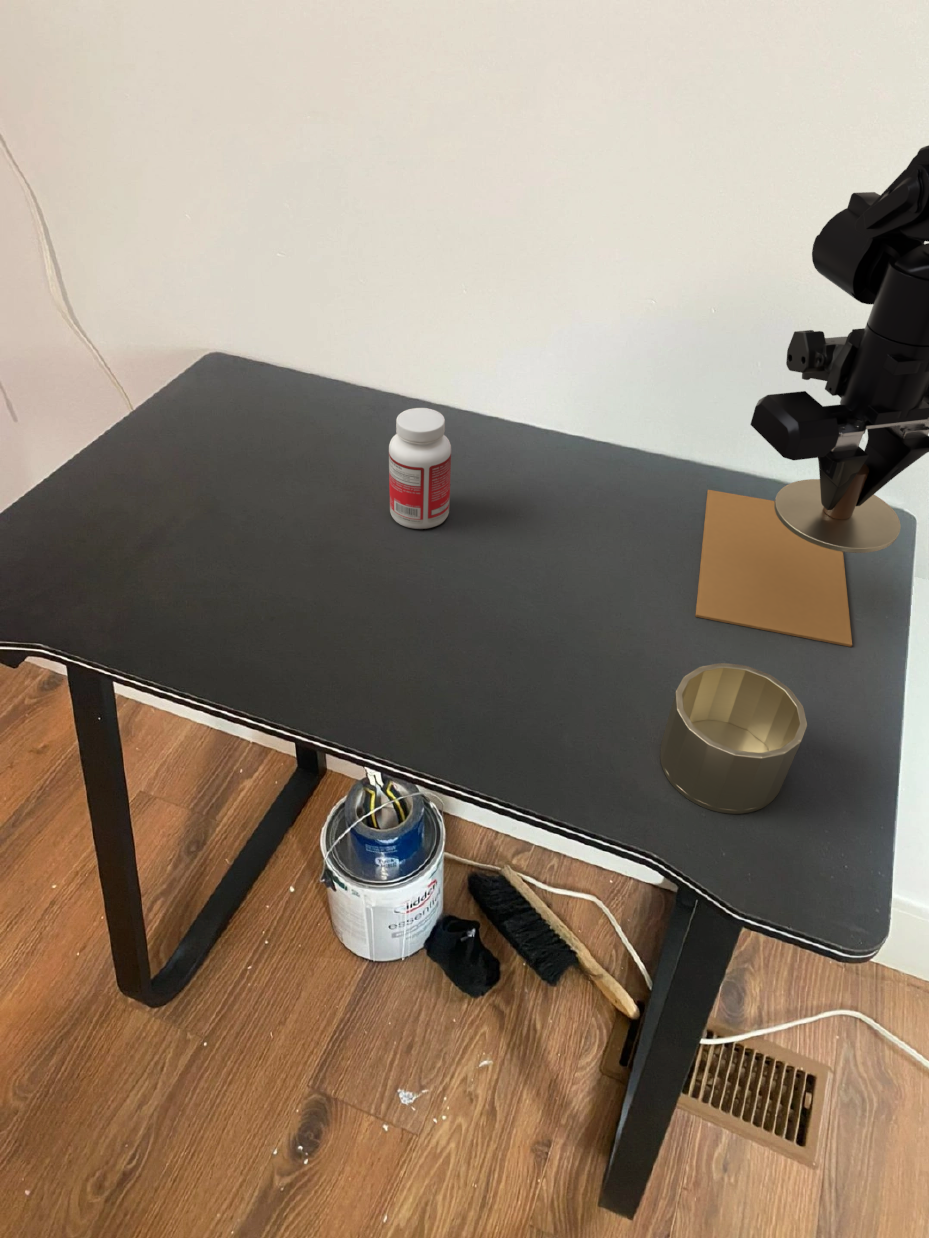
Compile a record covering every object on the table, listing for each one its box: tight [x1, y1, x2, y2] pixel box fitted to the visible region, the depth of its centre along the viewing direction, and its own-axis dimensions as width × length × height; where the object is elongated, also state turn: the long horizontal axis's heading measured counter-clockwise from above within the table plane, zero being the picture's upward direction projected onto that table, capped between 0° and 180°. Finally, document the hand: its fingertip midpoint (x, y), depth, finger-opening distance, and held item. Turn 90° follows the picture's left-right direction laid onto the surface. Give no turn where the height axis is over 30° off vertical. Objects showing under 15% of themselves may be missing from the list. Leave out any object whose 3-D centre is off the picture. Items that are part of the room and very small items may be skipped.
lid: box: [774, 464, 902, 554], centre depth 78 cm, size 10×10×6 cm
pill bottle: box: [388, 407, 452, 530], centre depth 92 cm, size 6×6×11 cm
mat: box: [694, 489, 853, 648], centre depth 92 cm, size 14×22×1 cm, turn 166°
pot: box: [659, 662, 808, 815], centre depth 70 cm, size 9×9×6 cm
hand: (840, 505), depth 78 cm, fingers closed on lid, 2 cm apart
